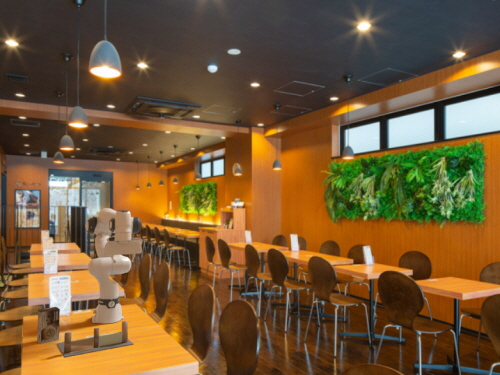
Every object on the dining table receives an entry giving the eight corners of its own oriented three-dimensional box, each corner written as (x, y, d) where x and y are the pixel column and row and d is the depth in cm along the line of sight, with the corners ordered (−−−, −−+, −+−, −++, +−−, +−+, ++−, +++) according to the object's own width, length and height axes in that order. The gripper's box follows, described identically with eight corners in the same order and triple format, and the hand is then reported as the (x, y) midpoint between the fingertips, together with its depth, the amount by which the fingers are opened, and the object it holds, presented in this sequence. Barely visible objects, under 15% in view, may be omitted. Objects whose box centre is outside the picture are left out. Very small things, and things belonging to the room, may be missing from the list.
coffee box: (55, 336, 207) (56, 306, 209) (59, 339, 203) (60, 308, 204) (36, 340, 201) (37, 309, 202) (40, 343, 197) (41, 311, 198)
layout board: (56, 344, 196) (57, 343, 196) (120, 333, 214) (120, 332, 215) (64, 357, 178) (64, 356, 178) (133, 344, 196) (133, 343, 196)
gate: (98, 345, 193) (99, 324, 194) (126, 340, 201) (127, 320, 202) (100, 346, 191) (101, 326, 191) (128, 341, 198) (128, 321, 199)
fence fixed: (63, 352, 184) (64, 332, 184) (97, 345, 193) (98, 327, 193) (64, 354, 181) (65, 334, 182) (99, 347, 190) (99, 328, 191)
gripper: (142, 237, 225) (142, 261, 223) (105, 239, 220) (105, 263, 218) (142, 237, 219) (142, 261, 217) (103, 238, 214) (103, 263, 212)
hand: (123, 262), depth 218 cm, fingers open, 8 cm apart
